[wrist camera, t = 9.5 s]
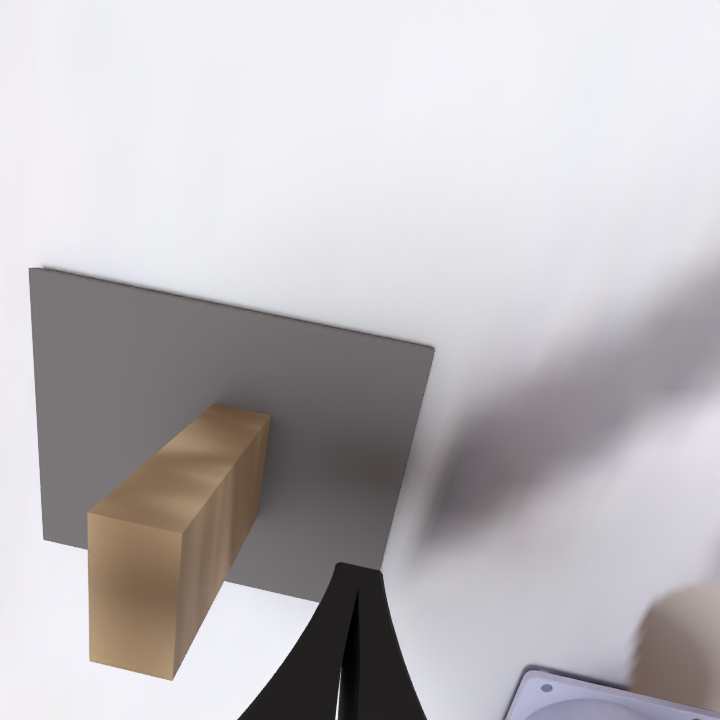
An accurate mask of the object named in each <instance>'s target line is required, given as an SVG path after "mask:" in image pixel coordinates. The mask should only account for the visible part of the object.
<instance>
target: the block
mask: <svg viewBox="0 0 720 720" xmlns="http://www.w3.org/2000/svg"><path fill="white" fill-rule="evenodd" d="M270 416H271V415H266V414H261V413H257V412H252V411H247V410H243V409H238V408H233V407H228V406H224V405H219V404H213V405H211V406H210V407H209V408H208V409H207V410H206V411H204V412H203V413H202V414H201V415H200V416H199V417H197V418H196V419H195V420H194V421H193V422H192V423H191V424H189V425H188V426H187V427H186V428H185V429H184V430H182V431H181V432H180V433H179V434H178V435H177V436H175V437H174V438H173V439H172V440H171V441H170V442H168V443H167V444H166V445H165V446H164V447H163V448H161V449H160V450H159V451H158V452H157V453H156V454H155V455H153V456H152V457H151V458H150V459H149V460H148V461H146V462H145V463H144V464H143V465H142V466H141V467H139V468H138V469H137V470H136V471H135V472H134V473H132V474H131V475H130V476H129V477H128V478H127V479H126V480H124V481H123V482H122V483H121V484H120V485H119V486H117V487H116V488H115V489H114V490H113V491H112V492H110V493H109V494H108V495H107V496H106V497H105V498H103V499H102V500H101V501H100V502H99V503H98V504H97V505H95V506H94V507H93V508H92V509H91V510H90V511H88V512H87V522H88V587H89V652H90V661H91V662H95V663H100V664H104V665H108V666H112V667H116V668H121V669H125V670H129V671H133V672H137V673H142V674H146V675H150V676H154V677H158V678H163V679H167V680H171V681H173V679H174V677H175V675H176V673H177V671H178V669H179V667H180V665H181V663H182V661H183V659H184V657H185V655H186V653H187V652H188V650H189V648H190V646H191V644H192V642H193V640H194V638H195V636H196V634H197V632H198V630H199V628H200V626H201V624H202V623H203V621H204V619H205V617H206V615H207V613H208V611H209V609H210V607H211V605H212V603H213V601H214V599H215V597H216V595H217V594H218V592H219V590H220V588H221V586H222V584H223V582H224V580H225V578H226V576H227V574H228V572H229V570H230V568H231V566H232V565H233V563H234V561H235V559H236V557H237V555H238V553H239V551H240V549H241V547H242V545H243V543H244V541H245V539H246V538H247V536H248V534H249V532H250V530H251V528H252V526H253V524H254V522H255V520H256V518H257V515H258V507H259V500H260V492H261V484H262V477H263V469H264V462H265V454H266V446H267V439H268V431H269V424H270Z"/></svg>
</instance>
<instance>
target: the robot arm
mask: <svg viewBox="0 0 720 720" xmlns="http://www.w3.org/2000/svg"><path fill="white" fill-rule="evenodd" d="M340 672H341V678H340ZM339 681H340V694H339V709H338V720H427V718H426V716H425V714H424V711H423V709H422V707H421V704H420V702H419V699H418V697H417V694H416V692H415V689H414V687H413V684H412V681H411V679H410V676H409V673H408V670H407V667H406V665H405V662H404V659H403V656H402V653H401V650H400V647H399V643H398V640H397V636H396V633H395V630H394V626H393V623H392V619H391V615H390V611H389V607H388V602H387V598H386V593H385V587H384V581H383V574H382V573H381V571H380V570H375V569H371V568H366V567H362V566H357V565H353V564H348V563H344V562H338V563H336V565H335V569H334V572H333V575H332V578H331V580H330V583H329V585H328V588H327V590H326V592H325V594H324V596H323V598H322V600H321V602H320V604H319V605H318V607H317V609H316V611H315V613H314V615H313V616H312V618H311V620H310V622H309V623H308V625H307V627H306V628H305V630H304V631H303V633H302V635H301V636H300V638H299V639H298V641H297V643H296V644H295V646H294V647H293V649H292V650H291V652H290V653H289V655H288V656H287V657H286V659H285V660H284V662H283V663H282V665H281V666H280V667H279V669H278V670H277V671H276V673H275V674H274V675H273V677H272V678H271V679H270V681H269V682H268V683H267V685H266V686H265V687H264V688H263V690H262V691H261V692H260V693H259V695H258V696H257V697H256V698H255V700H254V701H253V702H252V703H251V704H250V706H249V707H248V708H247V709H246V710H245V712H244V713H243V714H242V715H241V716H240V717H239V718H238V720H335V716H336V707H337V698H338V689H339ZM505 720H720V713H718V712H715V711H711V710H707V709H702V708H698V707H694V706H689V705H685V704H680V703H676V702H672V701H667V700H663V699H659V698H654V697H650V696H646V695H641V694H637V693H633V692H628V691H624V690H620V689H615V688H611V687H606V686H602V685H598V684H593V683H589V682H585V681H580V680H576V679H572V678H567V677H563V676H559V675H554V674H550V673H545V672H541V671H537V670H531V671H528V672H526V673H525V675H524V676H523V679H522V681H521V683H520V686H519V688H518V691H517V693H516V695H515V698H514V700H513V702H512V705H511V707H510V710H509V712H508V714H507V717H506V719H505Z"/></svg>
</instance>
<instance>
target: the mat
mask: <svg viewBox="0 0 720 720" xmlns="http://www.w3.org/2000/svg"><path fill="white" fill-rule="evenodd" d="M29 284H30V302H31V320H32V339H33V357H34V375H35V394H36V412H37V430H38V449H39V467H40V485H41V504H42V522H43V540H47V541H52V542H56V543H60V544H65V545H69V546H74V547H78V548H82V549H87V550H88V522H87V512H88V511H90V510H91V509H92V508H93V507H94V506H95V505H97V504H98V503H99V502H100V501H101V500H102V499H103V498H105V497H106V496H107V495H108V494H109V493H110V492H112V491H113V490H114V489H115V488H116V487H117V486H119V485H120V484H121V483H122V482H123V481H124V480H126V479H127V478H128V477H129V476H130V475H131V474H132V473H134V472H135V471H136V470H137V469H138V468H139V467H141V466H142V465H143V464H144V463H145V462H146V461H148V460H149V459H150V458H151V457H152V456H153V455H155V454H156V453H157V452H158V451H159V450H160V449H161V448H163V447H164V446H165V445H166V444H167V443H168V442H170V441H171V440H172V439H173V438H174V437H175V436H177V435H178V434H179V433H180V432H181V431H182V430H184V429H185V428H186V427H187V426H188V425H189V424H191V423H192V422H193V421H194V420H195V419H196V418H197V417H199V416H200V415H201V414H202V413H203V412H204V411H206V410H207V409H208V408H209V407H210V406H211V405H213V404H219V405H224V406H228V407H233V408H238V409H243V410H247V411H252V412H257V413H261V414H266V415H271V416H270V424H269V431H268V439H267V446H266V454H265V462H264V469H263V477H262V484H261V492H260V500H259V507H258V515H257V518H256V520H255V522H254V524H253V526H252V528H251V530H250V532H249V534H248V536H247V538H246V539H245V541H244V543H243V545H242V547H241V549H240V551H239V553H238V555H237V557H236V559H235V561H234V563H233V565H232V566H231V568H230V570H229V572H228V574H227V576H226V578H225V580H224V581H227V582H231V583H236V584H240V585H245V586H249V587H253V588H258V589H262V590H266V591H271V592H275V593H280V594H284V595H288V596H293V597H297V598H302V599H306V600H310V601H315V602H319V603H320V602H321V600H322V598H323V596H324V594H325V592H326V590H327V588H328V585H329V583H330V580H331V578H332V575H333V572H334V569H335V565H336V563H338V562H344V563H348V564H353V565H357V566H362V567H366V568H371V569H375V570H380V568H381V564H382V560H383V556H384V552H385V548H386V544H387V540H388V536H389V532H390V528H391V524H392V520H393V516H394V512H395V508H396V504H397V500H398V496H399V492H400V488H401V484H402V480H403V476H404V472H405V468H406V464H407V460H408V456H409V452H410V448H411V444H412V440H413V436H414V432H415V428H416V424H417V420H418V416H419V412H420V408H421V404H422V400H423V396H424V392H425V388H426V384H427V380H428V376H429V372H430V368H431V364H432V360H433V356H434V352H435V350H434V348H431V347H426V346H421V345H416V344H411V343H406V342H401V341H397V340H392V339H387V338H382V337H377V336H372V335H367V334H362V333H357V332H352V331H347V330H342V329H337V328H333V327H328V326H323V325H318V324H313V323H308V322H303V321H298V320H293V319H288V318H283V317H278V316H274V315H269V314H264V313H259V312H254V311H249V310H244V309H239V308H234V307H229V306H224V305H219V304H214V303H210V302H205V301H200V300H195V299H190V298H185V297H180V296H175V295H170V294H165V293H160V292H155V291H150V290H146V289H141V288H136V287H131V286H126V285H121V284H116V283H111V282H106V281H101V280H96V279H91V278H87V277H82V276H77V275H72V274H67V273H62V272H57V271H52V270H47V269H42V268H29Z"/></svg>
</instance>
